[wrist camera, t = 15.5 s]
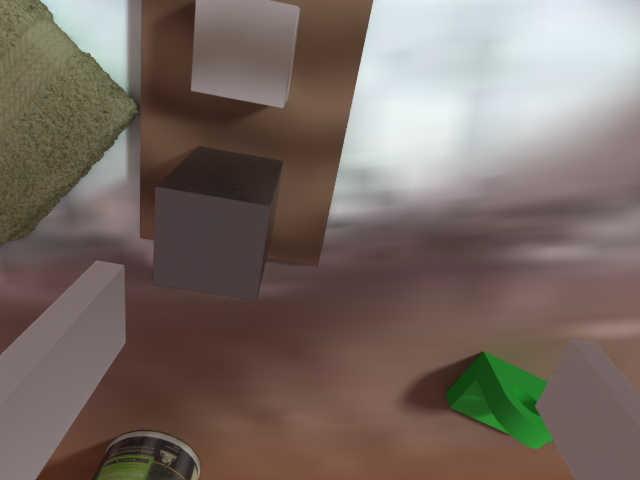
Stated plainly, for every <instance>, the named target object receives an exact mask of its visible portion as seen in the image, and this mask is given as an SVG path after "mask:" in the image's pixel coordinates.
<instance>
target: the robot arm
mask: <svg viewBox="0 0 640 480" xmlns="http://www.w3.org/2000/svg"><path fill="white" fill-rule="evenodd" d="M125 343H126V327H125V271H124V265H121V264H115V263H109V262H103V261H97V260H96V261H95V262H94V263H93V264H92V265H91V266H90V267H89V268H88V269H87V270H86V271H85V272H84V273H83V274H82V275H81V276H80V277H79V278H78V279H77V280H76V281H75V282H74V283H73V284H72V285H71V286H70V287H69V288H68V289H67V290H66V291H65V292H64V293H63V294H62V295H61V296H60V297H59V298H58V299H57V300H56V301H55V302H54V303H53V304H52V305H51V306H50V307H49V308H48V309H47V310H46V311H45V312H44V313H43V314H42V315H41V316H40V317H38V318H37V319H36V320H35V321H34V322H33V323H32V324H31V325H30V326H29V327H28V328H27V329H26V330H25V331H24V332H23V333H22V334H21V335H20V336H19V337H18V338H17V339H16V340H15V341H14V342H13V343H12V344H11V345H10V346H9V347H8V348H7V349H6V350H5V351H4V352H3V353H2V354H1V355H0V480H36V478H37V477H38V475H39V474H40V472H41V471H42V469H43V468H44V466H45V465H46V463H47V461H48V460H49V458H50V457H51V455H52V454H53V452H54V451H55V449H56V448H57V446H58V445H59V443H60V442H61V440H62V439H63V437H64V436H65V434H66V433H67V431H68V430H69V428H70V426H71V425H72V423H73V422H74V420H75V419H76V417H77V416H78V414H79V413H80V411H81V410H82V408H83V407H84V405H85V404H86V402H87V401H88V399H89V398H90V396H91V395H92V393H93V391H94V390H95V388H96V387H97V385H98V384H99V382H100V381H101V379H102V378H103V376H104V375H105V373H106V372H107V370H108V369H109V367H110V366H111V364H112V363H113V361H114V360H115V358H116V356H117V355H118V353H119V352H120V350H121V349H122V347H123V346H124V344H125ZM535 407H536V409H537V411H538V413H539V414H540V416H541V418H542V420H543V422H544V424H545V426H546V427H547V429H548V431H549V433H550V435H551V437H552V438H553V440H554V442H555V444H556V446H557V448H558V450H559V451H560V453H561V455H562V457H563V459H564V461H565V462H566V464H567V466H568V468H569V470H570V472H571V474H572V475H573V477H574V479H575V480H640V395H639V394H638V392H637V391H636V390H635V389H634V388H633V387H632V385H631V384H630V383H629V382H628V381H627V379H626V378H625V377H624V376H623V375H622V374H621V372H620V371H619V370H618V369H617V368H616V366H615V365H614V364H613V363H612V362H611V361H610V359H609V358H608V357H607V356H606V355H605V353H604V352H603V351H602V350H601V349H600V347H599V346H598V345H597V344H596V343H591V342H585V341H579V340H573V339H571V341H570V343H569V345H568V347H567V348H566V350H565V352H564V354H563V356H562V358H561V359H560V361H559V363H558V365H557V367H556V369H555V370H554V372H553V374H552V376H551V378H550V380H549V381H548V383H547V385H546V387H545V389H544V391H543V392H542V394H541V396H540V398H539V400H538V402H537V403H536V405H535Z"/></svg>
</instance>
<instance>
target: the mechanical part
mask: <svg viewBox="0 0 640 480" xmlns="http://www.w3.org/2000/svg"><path fill="white" fill-rule="evenodd" d="M547 383H548V382H545V381H543V380H541V379H539V378H537V377H535V376H533V375H531V374H529V373H527V372H525V371H523V370H521V369H519V368H517V367H515V366H513V365H511V364H509V363H506V362H504V361H502V360H500V359H498V358H496V357H494V356H492V355H490V354H488V353H486V352H484V351H483V353H482V354H481V355H480V356H479V357H478V358H477V359H476V360H475V361H474V362H473V364H472V365H471V366H470V367H469V368H468V369H467V370H466V371H465V372H464V373H463V375H462V376H461V377H460V378H459V379H458V380H457V381H456V382H455V383H454V384H453V386H452V387H451V388H450V389H449V390H448V391H447V392H446V393H445V395H446V398H447V401H448V403H449V406H450V408H452V409H454V410H456V411H458V412H460V413H463V414H465V415H467V416H469V417H472V418H474V419H476V420H478V421H481V422H483V423H485V424H487V425H490V426H492V427H494V428H496V429H499V430H501V431H503V432H505V433H508V434H510V435H512V436H513V437H514V438H515V439H517V440H518V441H519V442H521V443H523V444H524V445H526V446H528V447H531V448H535V449H538V448H541V447H542V446H543V445H544V444H545V443H547V442H551V441H554V440H553V438H552V437H551V435H550V433H549V431H548V429H547V427H546V426H545V424H544V422H543V420H542V418H541V416H540V414H539V413H538V411H537V409H536V407H535V405H536V403H537V402H538V400H539V398H540V396H541V394H542V392H543V391H544V389H545V387H546V385H547Z"/></svg>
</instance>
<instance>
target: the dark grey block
mask: <svg viewBox="0 0 640 480" xmlns="http://www.w3.org/2000/svg"><path fill="white" fill-rule="evenodd" d="M282 166H283V161H280V160H275V159H269V158H264V157H258V156H253V155H247V154H242V153H236V152H231V151H225V150H219V149H214V148H208V147H203V146H198V147H197V148H196V149H195V150H194V151H193V152H192V153H191V154H190V155H189V156H188V157H186V158H185V159H184V160H183V161H182V162H181V163H180V164H179V165H178V166H177V167H176V168H175V169H174V170H173V171H171V172H170V173H169V174H168V175H167V176H166V177H165V178H164V179H163V180H162V181H161V182H160V183H159V184H158V185H156V186H155V222H154V265H153V285H159V286H166V287H172V288H179V289H185V290H192V291H198V292H205V293H211V294H218V295H224V296H231V297H237V298H244V299H250V300H257V297H258V293H259V289H260V284H261V280H262V276H263V272H264V268H265V263H266V259H267V255H268V251H269V246H270V242H271V238H272V232H273V226H274V219H275V213H276V206H277V199H278V193H279V186H280V180H281V173H282Z"/></svg>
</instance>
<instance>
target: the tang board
mask: <svg viewBox="0 0 640 480" xmlns="http://www.w3.org/2000/svg"><path fill="white" fill-rule="evenodd" d="M372 4H373V0H142V41H141V170H140V238H144V239H150V240H154V222H155V186H156V185H158V184H159V183H160V182H161V181H162V180H163V179H164V178H165V177H166V176H167V175H168V174H169V173H170V172H171V171H173V170H174V169H175V168H176V167H177V166H178V165H179V164H180V163H181V162H182V161H183V160H184V159H185V158H186V157H188V156H189V155H190V154H191V153H192V152H193V151H194V150H195V149H196V148H197V147H198V146H203V147H208V148H214V149H219V150H225V151H231V152H236V153H242V154H247V155H253V156H258V157H264V158H269V159H275V160H280V161H283V166H282V173H281V180H280V186H279V193H278V199H277V206H276V213H275V219H274V226H273V232H272V238H271V242H270V246H269V251H268V255H267V258H268V259H274V260H280V261H286V262H292V263H298V264H305V265H311V266H317V267H318V263H319V258H320V253H321V248H322V243H323V239H324V234H325V229H326V224H327V219H328V215H329V210H330V205H331V200H332V196H333V191H334V186H335V181H336V176H337V172H338V167H339V162H340V157H341V152H342V148H343V143H344V138H345V133H346V128H347V124H348V119H349V114H350V109H351V104H352V100H353V95H354V90H355V85H356V80H357V76H358V71H359V66H360V61H361V56H362V52H363V47H364V42H365V37H366V32H367V28H368V23H369V18H370V13H371V9H372Z"/></svg>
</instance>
